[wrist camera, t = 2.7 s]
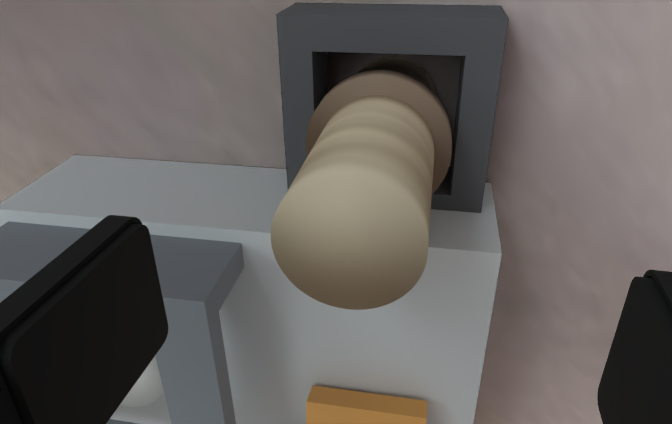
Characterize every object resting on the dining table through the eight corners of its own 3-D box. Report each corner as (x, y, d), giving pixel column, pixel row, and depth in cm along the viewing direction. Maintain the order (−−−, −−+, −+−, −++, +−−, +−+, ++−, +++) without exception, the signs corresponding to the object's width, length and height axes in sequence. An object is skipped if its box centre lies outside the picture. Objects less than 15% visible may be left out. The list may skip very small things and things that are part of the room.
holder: (296, 2, 19) (276, 14, 17) (501, 5, 18) (508, 18, 15) (304, 181, 22) (288, 209, 20) (476, 193, 21) (479, 225, 19)
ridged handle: (332, 41, 19) (238, 144, 11) (457, 44, 18) (463, 158, 10) (334, 154, 21) (257, 315, 13) (445, 160, 21) (443, 337, 12)
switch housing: (74, 154, 24) (-84, 256, 17) (491, 183, 21) (512, 322, 14) (136, 379, 31) (42, 519, 24) (455, 425, 28) (458, 600, 21)
